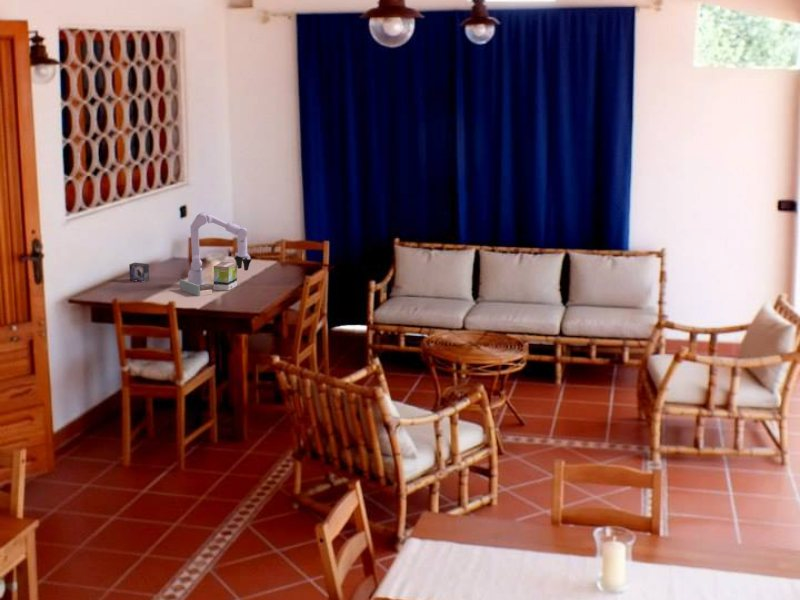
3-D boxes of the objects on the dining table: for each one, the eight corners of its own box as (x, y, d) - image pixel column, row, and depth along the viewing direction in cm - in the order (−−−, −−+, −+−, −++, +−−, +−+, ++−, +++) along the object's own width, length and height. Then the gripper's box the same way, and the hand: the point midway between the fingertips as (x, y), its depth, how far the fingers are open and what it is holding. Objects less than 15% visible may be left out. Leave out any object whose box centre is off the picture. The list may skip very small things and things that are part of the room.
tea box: (229, 291, 695) (228, 266, 692) (213, 290, 697) (212, 265, 694) (237, 286, 710) (237, 262, 706) (221, 285, 712) (221, 261, 708)
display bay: (179, 289, 697) (179, 279, 696) (193, 287, 703) (193, 277, 701) (198, 296, 680) (197, 285, 679) (212, 294, 685) (211, 284, 684)
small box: (129, 280, 720) (128, 264, 718) (135, 278, 726) (134, 262, 724) (143, 282, 716) (143, 265, 714) (149, 280, 722) (149, 263, 720)
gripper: (254, 248, 706) (254, 270, 709) (242, 245, 717) (242, 266, 720) (244, 249, 702) (244, 271, 705) (232, 246, 713) (232, 268, 716)
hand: (242, 269), depth 712 cm, fingers open, 7 cm apart
